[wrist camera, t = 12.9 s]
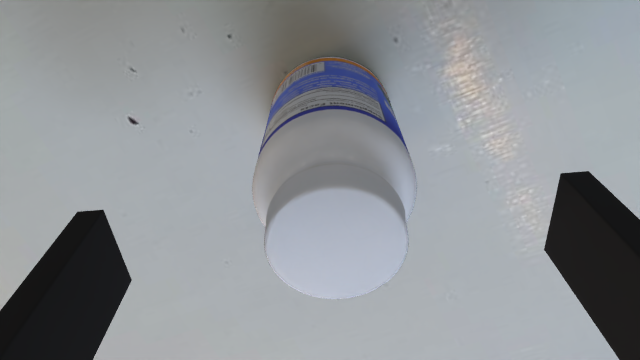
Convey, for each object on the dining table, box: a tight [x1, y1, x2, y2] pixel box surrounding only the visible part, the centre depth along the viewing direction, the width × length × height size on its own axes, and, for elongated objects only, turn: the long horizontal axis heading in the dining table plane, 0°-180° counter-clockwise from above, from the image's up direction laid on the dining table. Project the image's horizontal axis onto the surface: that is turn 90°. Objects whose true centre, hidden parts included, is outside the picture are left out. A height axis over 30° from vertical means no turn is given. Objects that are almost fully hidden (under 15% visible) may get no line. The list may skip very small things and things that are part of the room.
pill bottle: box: [252, 57, 417, 299], centre depth 16 cm, size 5×5×10 cm
